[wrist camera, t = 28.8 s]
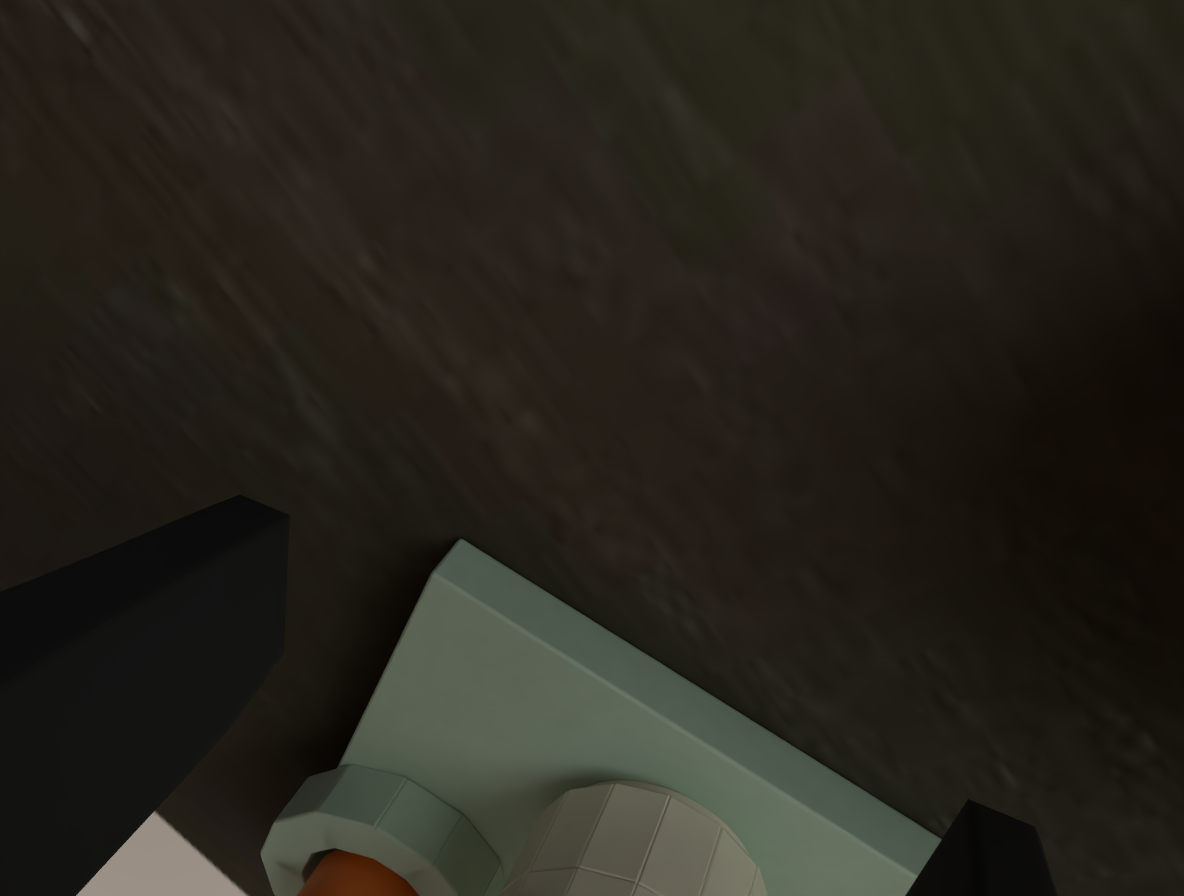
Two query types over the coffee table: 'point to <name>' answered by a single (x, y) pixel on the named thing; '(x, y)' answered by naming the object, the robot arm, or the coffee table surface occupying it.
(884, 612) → the coffee table surface
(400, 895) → the button
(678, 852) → the white cup
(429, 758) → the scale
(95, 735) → the robot arm
